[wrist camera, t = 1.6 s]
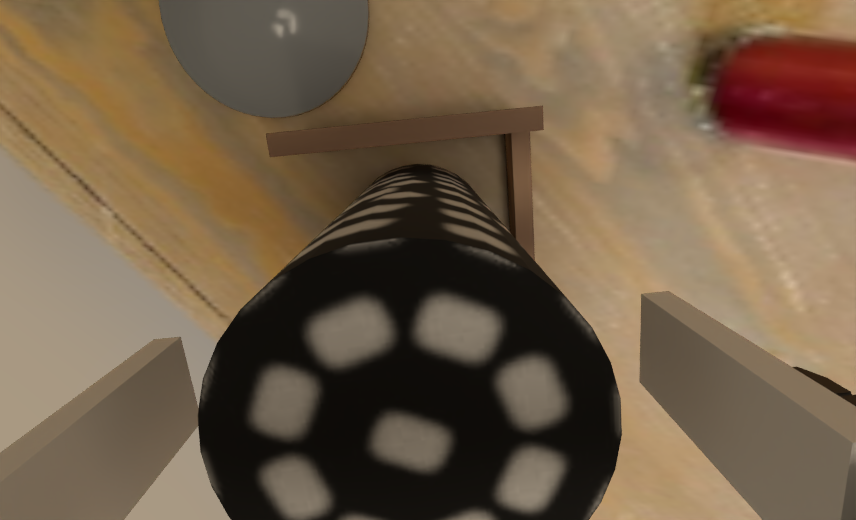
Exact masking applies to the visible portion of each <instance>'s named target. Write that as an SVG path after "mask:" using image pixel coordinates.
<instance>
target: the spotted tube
mask: <svg viewBox="0 0 856 520" xmlns="http://www.w3.org/2000/svg"><path fill="white" fill-rule="evenodd" d="M198 426H199V438H200V450H201V454H202V458H203V461H204V464H205V467H206V470H207V473H208V476H209V480H210V483H211V486H212V488H213V490H214V491H215V493H216V495H217V497H218V498H219V500H220V502H221V504H222V505H223V507H224V509H225V511H226V512H227V514H228V516H229V517H230V519H231V520H589V519H590V517H591V516H592V514H593V513H594V512H595V510H596V509H597V507H598V506H599V504H600V503H601V501H602V499H603V496H604V494H605V492H606V489H607V487H608V485H609V482H610V480H611V478H612V475H613V473H614V471H615V467H616V462H617V457H618V451H619V446H620V441H621V436H622V429H621V400H620V395H619V391H618V388H617V384H616V380H615V376H614V373H613V369H612V365H611V362H610V360H609V358H608V356H607V354H606V353H605V351H604V349H603V347H602V345H601V343H600V341H599V339H598V338H597V336H596V334H595V332H594V330H593V328H592V327H591V326H590V325H589V323H588V322H587V321H586V320H585V319H584V318H583V316H582V315H581V314H580V313H579V312H578V311H577V309H576V308H575V307H574V306H573V305H572V304H571V303H570V301H569V300H568V299H567V298H566V297H565V296H564V294H563V293H562V292H561V291H560V290H559V289H558V287H557V286H556V285H555V284H554V283H553V282H552V281H551V279H550V278H549V277H548V276H547V275H546V274H545V272H544V271H543V270H542V269H541V268H540V267H539V265H538V264H537V263H536V262H535V261H534V260H533V259H532V257H531V256H530V255H529V254H528V253H527V252H526V250H525V249H524V248H523V247H522V246H521V245H520V244H519V242H518V241H517V240H516V239H515V238H514V237H513V235H512V234H511V233H510V232H509V231H508V230H507V228H506V227H505V226H504V225H503V224H502V223H501V222H500V220H499V219H498V218H497V217H496V216H495V215H494V213H493V212H492V211H491V210H490V209H489V208H488V206H487V205H486V204H485V203H484V202H483V201H482V200H481V198H480V197H479V196H478V195H477V194H476V193H475V191H474V190H473V189H472V188H471V187H470V186H469V185H468V183H467V182H465V181H464V180H463V179H461V178H460V177H459V176H457V175H456V174H454V173H452V172H450V171H448V170H446V169H444V168H440V167H436V166H432V165H421V164H415V165H408V166H403V167H400V168H397V169H394V170H391V171H389V172H388V173H386V174H384V175H383V176H381V177H379V178H378V179H377V180H376V181H375V182H374V183H373V184H371V185H370V186H369V187H368V188H367V189H366V190H365V191H364V192H363V193H362V194H361V195H360V196H359V197H358V198H357V199H356V200H355V201H354V202H353V203H351V204H350V205H349V206H348V207H347V208H346V209H345V210H344V211H343V212H342V213H341V214H340V215H339V216H338V217H337V218H336V219H335V220H334V221H333V222H332V223H331V224H330V225H328V226H327V227H326V228H325V229H324V230H323V231H322V232H321V233H320V234H319V235H318V236H317V237H316V238H315V239H314V240H313V241H312V242H311V243H310V244H309V245H308V246H307V247H305V248H304V249H303V250H302V251H301V252H300V253H299V254H298V255H297V256H296V257H295V258H294V259H293V260H292V261H291V262H290V263H289V264H288V265H287V266H286V267H285V268H283V269H282V270H281V271H280V272H279V273H278V274H277V275H276V276H275V277H274V278H273V279H272V280H271V281H270V282H269V283H268V284H267V285H266V286H265V287H264V288H263V289H262V290H260V291H259V292H258V293H257V294H256V295H255V296H254V297H253V298H252V299H251V300H250V301H249V302H248V303H247V304H246V305H245V306H244V307H243V308H242V309H241V310H240V311H239V312H238V314H237V315H236V317H235V318H234V320H233V321H232V322H231V324H230V325H229V327H228V328H227V330H226V331H225V333H224V334H223V335H222V337H221V338H220V340H219V341H218V343H217V345H216V347H215V350H214V352H213V355H212V357H211V360H210V363H209V366H208V368H207V370H206V373H205V375H204V378H203V383H202V390H201V396H200V403H199V410H198Z"/></svg>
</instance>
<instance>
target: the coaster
mask: <svg viewBox="0 0 856 520" xmlns="http://www.w3.org/2000/svg"><path fill="white" fill-rule="evenodd" d="M159 7H160V13H161V19H162V23H163V26H164V30H165V33H166V36H167V38H168V41H169V43H170V46H171V48H172V50H173V52H174V54H175V55H176V57H177V59H178V61H179V62H180V64H181V65H182V67H183V68H184V69H185V71H186V72H187V74H188V75H189V76H190V77H191V78H192V79H193V80H194V81H195V83H196V84H197V85H198V86H200V87H201V88H202V89H203V90H204V91H205V92H206V93H207V94H209V95H210V96H212V97H213V98H214V99H216V100H217V101H219V102H221V103H222V104H224V105H226V106H228V107H230V108H232V109H235V110H237V111H240V112H243V113H246V114H250V115H254V116H261V117H270V118H282V117H291V116H296V115H300V114H303V113H306V112H310V111H312V110H314V109H316V108H318V107H320V106H322V105H323V104H325V103H326V102H328V101H329V100H330V99H332V98H333V97H334V96H335V95H336V94H337V93H338V92H340V91H341V89H342V88H343V87H344V86H345V85H346V84H347V82H348V81H349V80H350V78H351V77H352V75H353V73H354V72H355V70H356V68H357V66H358V64H359V62H360V60H361V58H362V54H363V51H364V48H365V45H366V40H367V35H368V27H369V4H368V0H159Z"/></svg>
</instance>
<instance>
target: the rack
mask: <svg viewBox="0 0 856 520" xmlns="http://www.w3.org/2000/svg"><path fill="white" fill-rule="evenodd" d="M538 130H544V129H543V106H536V107H526V108H516V109H506V110H496V111H486V112H476V113H466V114H456V115H446V116H436V117H426V118H417V119H407V120H397V121H387V122H377V123H367V124H357V125H347V126H337V127H327V128H317V129H307V130H297V131H287V132H277V133H267V134H266V138H267V144H268V149H269V155H270V157H277V156H287V155H297V154H307V153H317V152H327V151H337V150H347V149H357V148H367V147H377V146H387V145H397V144H407V143H417V142H427V141H438V140H448V139H458V138H468V137H478V136H488V135H498V134H505V141H506V161H507V181H508V201H509V220H510V233H511V234H512V235H513V237H514V238H515V239H516V240H517V241H518V242H519V244H520V245H521V246H522V247H523V248H524V249H525V250H526V252H527V253H528V254H529V255H530V256H531V257H532V259H533V260H534V261H535V257H534V229H533V202H532V175H531V148H530V131H538Z"/></svg>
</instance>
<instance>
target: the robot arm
mask: <svg viewBox="0 0 856 520" xmlns="http://www.w3.org/2000/svg"><path fill="white" fill-rule="evenodd" d="M640 383H641V384H642V385H643V386H644V387H645V388H646V390H647V391H648V392H649V393H650V394H651V395H652V396H653V397H654V399H655V400H656V401H657V402H658V403H659V404H660V405H661V406H662V407H663V409H664V410H665V411H666V412H667V413H668V414H669V415H670V416H671V418H672V419H673V420H674V421H675V422H676V423H677V424H678V425H679V427H680V428H681V429H682V430H683V431H684V432H685V433H686V434H687V435H688V437H689V438H690V439H691V440H692V441H693V442H694V443H695V444H696V446H697V447H698V448H699V449H700V450H701V451H702V452H703V453H704V454H705V456H706V457H707V458H708V459H709V460H710V461H711V462H712V463H713V465H714V466H715V467H716V468H717V469H718V470H719V471H720V472H721V474H722V475H723V476H724V477H725V478H726V479H727V480H728V481H729V482H730V484H731V485H732V486H733V487H734V488H735V489H736V490H737V491H738V493H739V494H740V495H741V496H742V497H743V498H744V499H745V500H746V501H747V503H748V504H749V505H750V506H751V507H752V508H753V509H754V510H755V512H756V513H757V514H758V515H759V516H760V517H761V518H762V519H763V520H856V395H852V394H851V392H850V391H848V390H847V389H845V388H843V387H842V386H840V385H838V384H837V383H835V382H833V381H832V380H830V379H828V378H826V377H823V376H821V375H818V374H815V373H813V372H810V371H807V370H804V369H802V368H799V367H791V366H789V365H788V364H786V363H784V362H783V361H781V360H780V359H778V358H776V357H775V356H773V355H771V354H770V353H768V352H767V351H765V350H763V349H762V348H760V347H758V346H757V345H755V344H754V343H752V342H750V341H749V340H747V339H745V338H744V337H742V336H741V335H739V334H737V333H736V332H734V331H732V330H731V329H729V328H728V327H726V326H724V325H723V324H721V323H719V322H718V321H716V320H715V319H713V318H711V317H710V316H708V315H707V314H705V313H703V312H702V311H700V310H698V309H697V308H695V307H694V306H692V305H690V304H689V303H687V302H685V301H684V300H682V299H681V298H679V297H677V296H676V295H674V294H672V293H671V292H669V291H666V292H655V293H644V294H641V337H640ZM198 410H199V409H198V405H197V401H196V397H195V393H194V389H193V385H192V381H191V377H190V373H189V369H188V365H187V361H186V357H185V353H184V349H183V345H182V341H181V337H174V338H163V339H154V340H153V341H151V342H150V343H149V344H147V345H146V346H144V347H143V348H142V349H140V350H139V351H138V352H136V353H135V354H134V355H132V356H131V357H130V358H128V359H127V360H125V361H124V362H123V363H122V364H120V365H119V366H117V367H116V368H115V369H113V370H112V371H111V372H109V373H108V374H107V375H105V376H104V377H102V378H101V379H100V380H98V381H97V382H96V383H94V384H93V385H92V386H90V387H89V388H87V389H86V390H85V391H83V392H82V393H81V394H79V395H78V396H77V397H75V398H74V399H73V400H71V401H70V402H69V403H67V404H66V405H64V406H63V407H62V408H60V409H59V410H58V411H56V412H55V413H54V414H52V415H51V416H49V417H48V418H47V419H45V420H44V421H43V422H41V423H40V424H39V425H37V426H36V427H35V428H33V429H32V430H31V431H29V432H28V433H27V434H25V435H24V436H22V437H21V438H20V439H18V440H17V441H16V442H14V443H13V444H11V445H10V446H9V447H8V448H6V449H5V450H3V451H2V452H1V453H0V520H124V519H125V518H126V516H127V515H128V514H129V513H130V511H131V510H132V509H133V508H134V506H135V505H136V504H137V502H138V501H139V500H140V499H141V497H142V496H143V495H144V494H145V492H146V491H147V490H148V489H149V487H150V486H151V485H152V484H153V482H154V481H155V480H156V478H157V477H158V476H159V475H160V473H161V472H162V471H163V470H164V468H165V467H166V466H167V465H168V463H169V462H170V461H171V459H172V458H173V457H174V456H175V454H176V453H177V452H178V451H179V449H180V448H181V447H182V446H183V444H184V443H185V442H186V441H187V439H188V438H189V437H190V435H191V434H192V433H193V432H194V430H195V429H196V428H197V427H198Z"/></svg>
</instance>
